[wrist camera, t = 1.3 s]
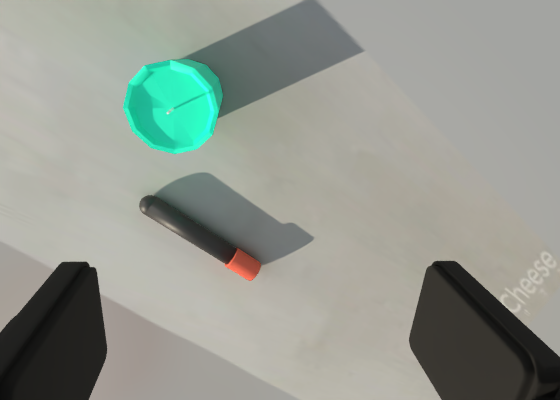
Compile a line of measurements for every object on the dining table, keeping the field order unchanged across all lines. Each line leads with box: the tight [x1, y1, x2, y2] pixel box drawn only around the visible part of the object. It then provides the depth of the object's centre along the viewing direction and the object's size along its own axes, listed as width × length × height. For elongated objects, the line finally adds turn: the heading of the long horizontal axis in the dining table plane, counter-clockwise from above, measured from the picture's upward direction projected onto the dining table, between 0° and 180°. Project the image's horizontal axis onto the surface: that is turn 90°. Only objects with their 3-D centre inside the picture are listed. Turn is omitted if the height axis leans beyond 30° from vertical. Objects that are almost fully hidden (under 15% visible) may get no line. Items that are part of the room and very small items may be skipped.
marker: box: [139, 195, 261, 281], centre depth 37 cm, size 14×2×2 cm, turn 51°
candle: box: [123, 59, 223, 154], centre depth 27 cm, size 6×6×12 cm
